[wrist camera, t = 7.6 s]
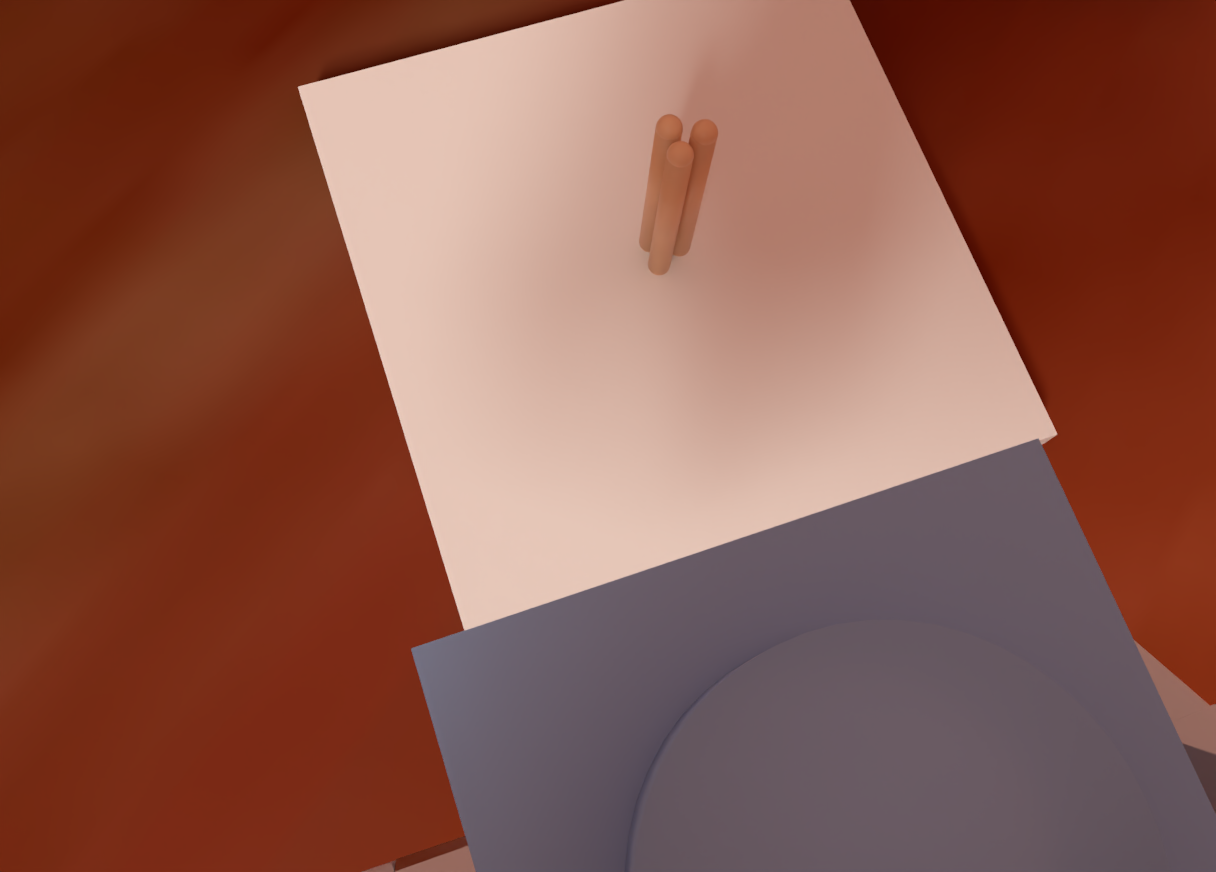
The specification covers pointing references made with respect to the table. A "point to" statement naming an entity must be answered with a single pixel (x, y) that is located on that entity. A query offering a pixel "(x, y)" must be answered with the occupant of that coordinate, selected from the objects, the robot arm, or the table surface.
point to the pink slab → (658, 286)
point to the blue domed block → (830, 703)
